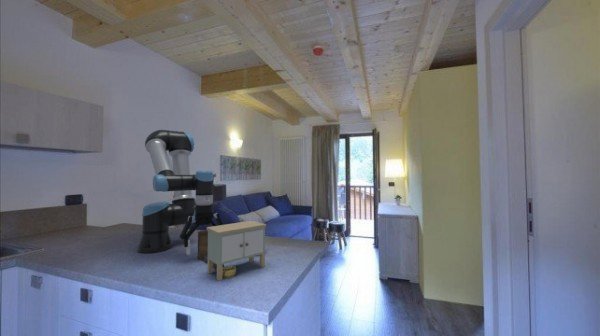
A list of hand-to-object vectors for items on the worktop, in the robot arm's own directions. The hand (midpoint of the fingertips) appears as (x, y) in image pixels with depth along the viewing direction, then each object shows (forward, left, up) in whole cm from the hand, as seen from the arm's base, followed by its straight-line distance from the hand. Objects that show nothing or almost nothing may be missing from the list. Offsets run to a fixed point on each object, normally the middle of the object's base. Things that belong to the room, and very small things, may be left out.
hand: (203, 250), depth 111 cm
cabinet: (+22, +5, -3) cm, 23 cm away
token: (+24, 0, -3) cm, 25 cm away
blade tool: (+8, 0, -3) cm, 8 cm away
